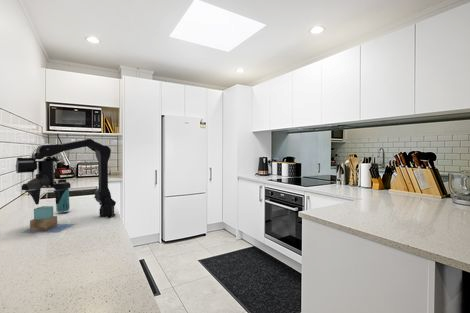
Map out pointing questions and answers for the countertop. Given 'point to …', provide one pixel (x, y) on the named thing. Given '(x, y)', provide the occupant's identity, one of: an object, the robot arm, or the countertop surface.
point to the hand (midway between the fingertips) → (47, 204)
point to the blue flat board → (53, 230)
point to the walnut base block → (43, 224)
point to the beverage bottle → (63, 200)
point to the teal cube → (43, 213)
